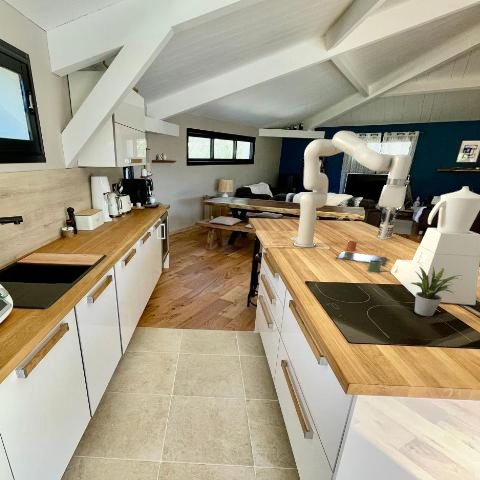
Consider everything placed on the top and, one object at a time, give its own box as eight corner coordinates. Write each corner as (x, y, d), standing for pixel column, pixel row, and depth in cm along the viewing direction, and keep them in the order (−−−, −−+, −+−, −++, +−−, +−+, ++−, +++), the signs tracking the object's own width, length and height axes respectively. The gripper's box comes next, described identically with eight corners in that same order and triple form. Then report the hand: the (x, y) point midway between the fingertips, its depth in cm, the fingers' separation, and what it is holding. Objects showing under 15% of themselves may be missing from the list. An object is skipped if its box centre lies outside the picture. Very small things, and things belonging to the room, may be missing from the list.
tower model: (391, 238, 212) (400, 200, 202) (376, 237, 216) (384, 200, 207) (392, 236, 219) (401, 199, 210) (377, 235, 223) (385, 198, 214)
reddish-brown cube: (345, 250, 184) (347, 241, 182) (347, 248, 188) (348, 240, 186) (354, 251, 182) (356, 242, 180) (355, 249, 185) (357, 241, 183)
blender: (387, 273, 145) (409, 182, 130) (433, 276, 141) (461, 183, 126) (416, 301, 115) (449, 188, 101) (474, 306, 111) (518, 189, 96)
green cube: (367, 272, 147) (369, 261, 145) (368, 269, 150) (371, 259, 148) (378, 273, 144) (381, 263, 142) (379, 271, 148) (382, 261, 146)
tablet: (336, 259, 166) (336, 257, 166) (342, 252, 179) (342, 251, 178) (383, 266, 155) (383, 264, 154) (386, 258, 167) (386, 257, 167)
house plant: (454, 328, 96) (472, 278, 90) (401, 317, 103) (414, 270, 97) (449, 311, 107) (464, 266, 101) (401, 302, 114) (413, 259, 108)
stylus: (379, 240, 159) (386, 210, 153) (379, 239, 160) (387, 209, 154) (383, 241, 158) (391, 210, 152) (384, 240, 159) (391, 210, 153)
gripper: (416, 183, 147) (405, 222, 154) (377, 181, 155) (369, 219, 162) (415, 184, 141) (404, 224, 148) (376, 182, 150) (367, 221, 157)
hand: (386, 221), depth 155 cm, fingers closed on stylus, 2 cm apart
